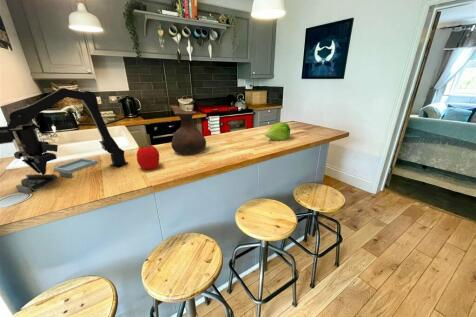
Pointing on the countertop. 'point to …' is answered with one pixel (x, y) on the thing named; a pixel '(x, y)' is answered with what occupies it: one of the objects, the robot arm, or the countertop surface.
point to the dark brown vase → (187, 134)
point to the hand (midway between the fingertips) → (42, 173)
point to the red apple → (148, 157)
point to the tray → (75, 165)
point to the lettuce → (278, 131)
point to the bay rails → (27, 190)
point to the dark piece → (38, 180)
